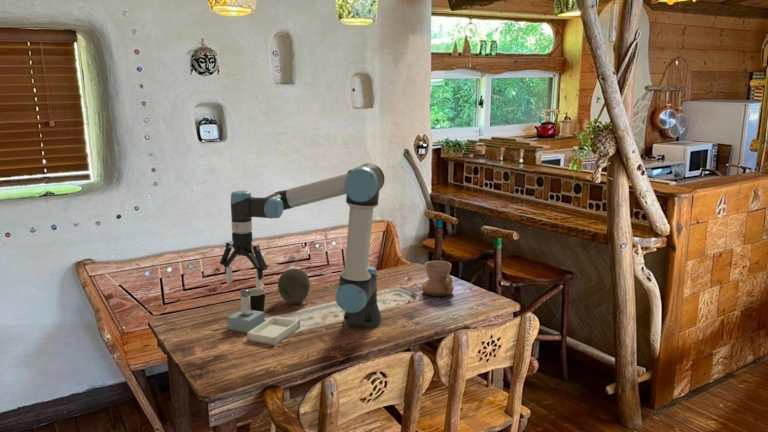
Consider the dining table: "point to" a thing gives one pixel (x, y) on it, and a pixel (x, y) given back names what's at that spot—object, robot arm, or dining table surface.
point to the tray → (273, 330)
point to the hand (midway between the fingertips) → (244, 284)
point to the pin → (245, 302)
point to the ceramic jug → (438, 278)
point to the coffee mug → (257, 299)
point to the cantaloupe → (293, 285)
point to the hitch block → (245, 321)
